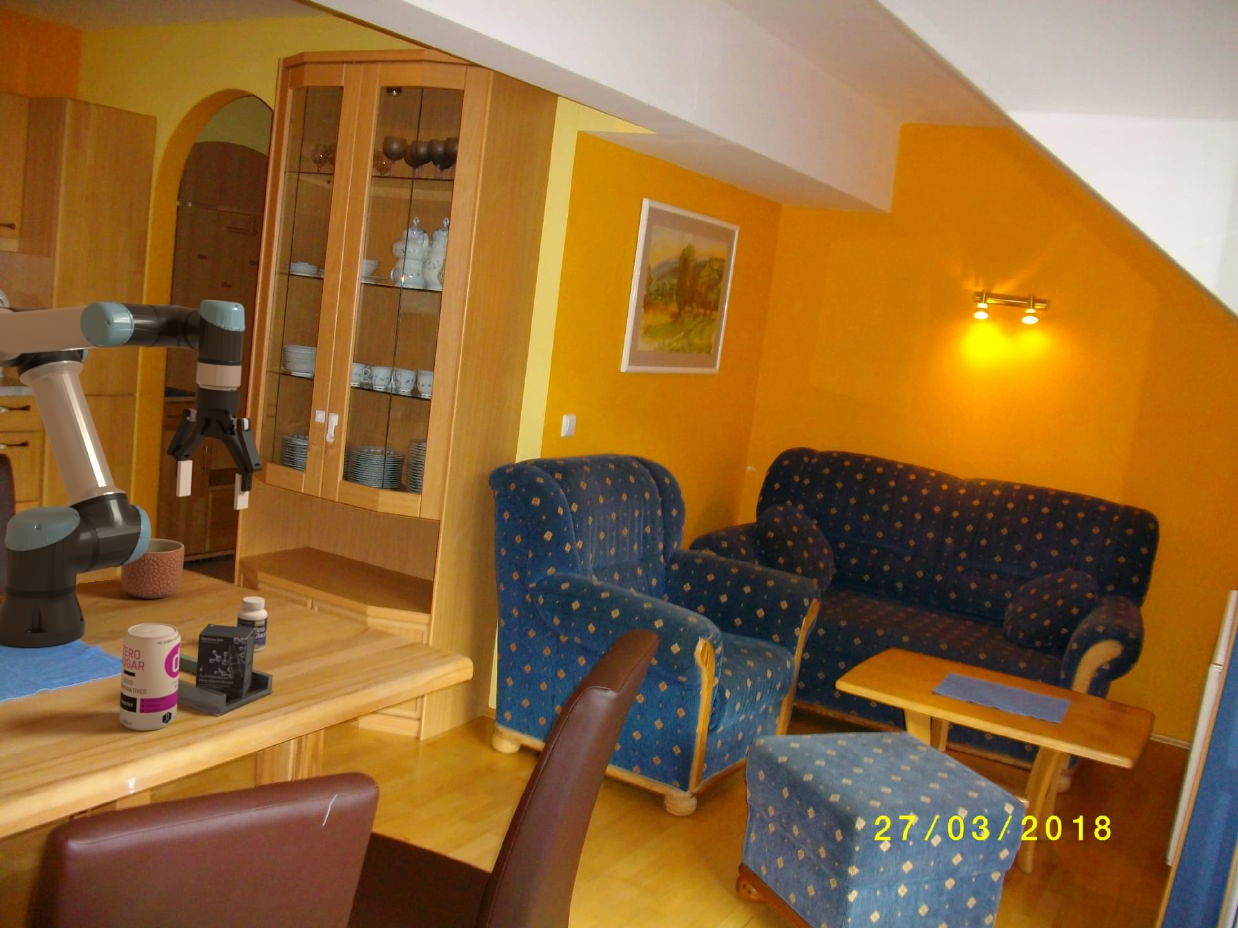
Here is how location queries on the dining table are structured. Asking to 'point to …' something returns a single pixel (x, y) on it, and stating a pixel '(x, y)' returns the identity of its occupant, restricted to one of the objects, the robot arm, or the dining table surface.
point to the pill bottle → (254, 619)
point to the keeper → (223, 695)
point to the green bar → (188, 663)
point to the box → (225, 659)
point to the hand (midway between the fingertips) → (211, 502)
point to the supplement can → (149, 676)
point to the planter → (155, 570)
